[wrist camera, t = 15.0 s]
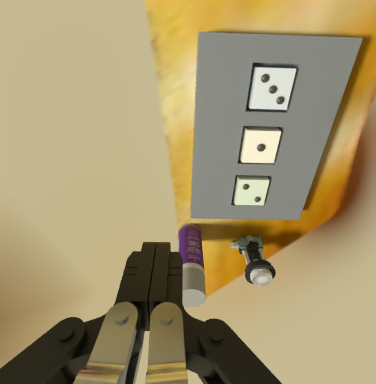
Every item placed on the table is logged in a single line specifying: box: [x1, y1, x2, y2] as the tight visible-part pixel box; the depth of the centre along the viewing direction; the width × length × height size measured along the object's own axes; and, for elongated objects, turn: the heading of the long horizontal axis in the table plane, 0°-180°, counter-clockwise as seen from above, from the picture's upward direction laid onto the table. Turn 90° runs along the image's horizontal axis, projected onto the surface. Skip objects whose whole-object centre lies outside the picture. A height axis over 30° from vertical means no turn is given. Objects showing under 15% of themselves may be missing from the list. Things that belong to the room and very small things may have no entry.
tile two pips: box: [232, 175, 269, 206], centre depth 39 cm, size 5×5×3 cm
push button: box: [230, 235, 275, 286], centre depth 45 cm, size 7×5×10 cm
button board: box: [191, 32, 363, 220], centre depth 36 cm, size 28×20×3 cm
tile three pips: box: [247, 67, 296, 110], centre depth 31 cm, size 5×5×3 cm
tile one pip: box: [239, 126, 281, 163], centre depth 35 cm, size 5×5×3 cm
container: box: [178, 224, 206, 307], centre depth 41 cm, size 5×5×15 cm
